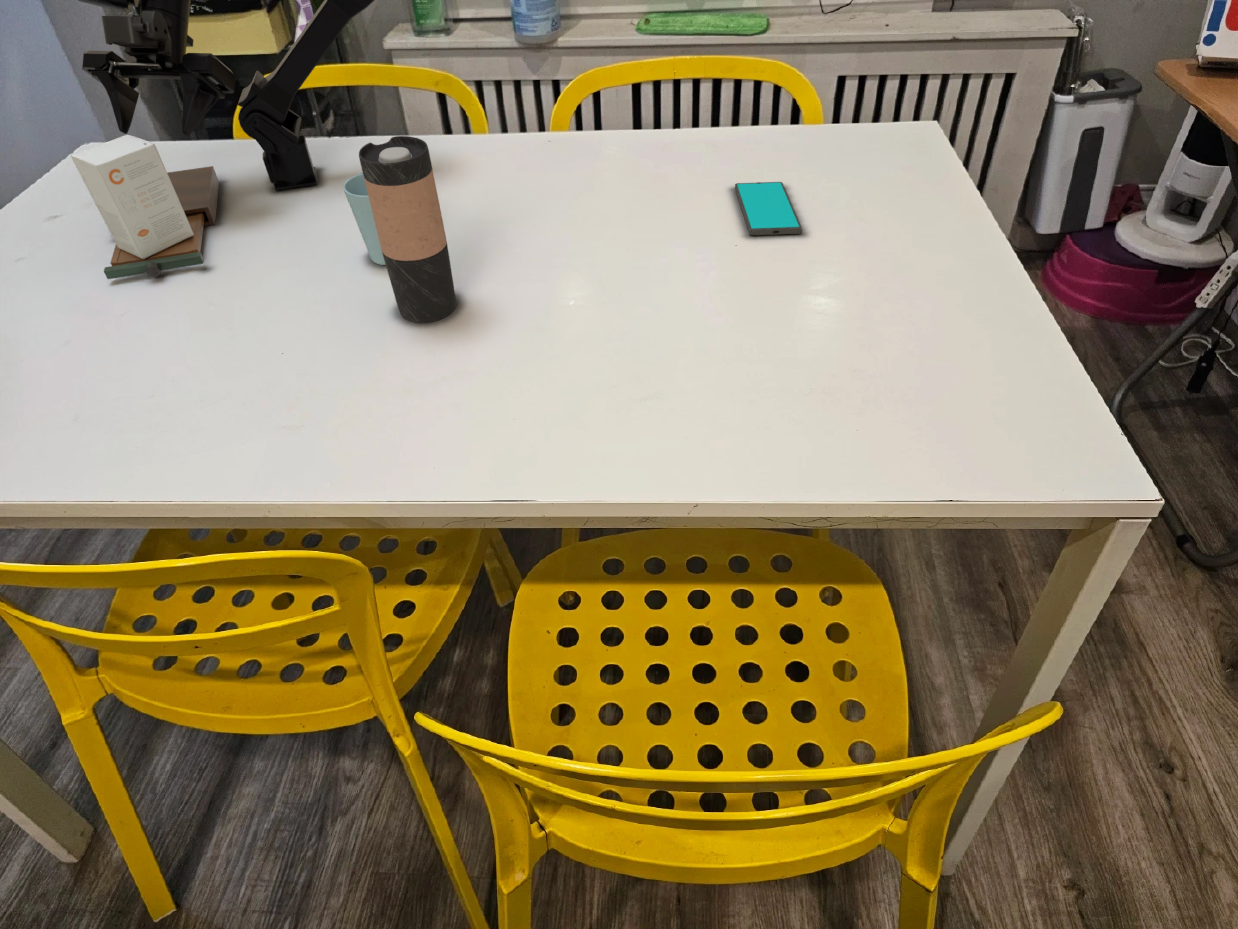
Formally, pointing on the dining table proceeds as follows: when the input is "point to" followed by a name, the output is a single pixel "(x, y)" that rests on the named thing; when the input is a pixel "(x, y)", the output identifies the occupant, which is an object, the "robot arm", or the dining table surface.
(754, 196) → the smartphone
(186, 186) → the cabinet
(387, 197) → the travel mug
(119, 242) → the small box
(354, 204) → the cup
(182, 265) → the drawer
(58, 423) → the dining table surface
